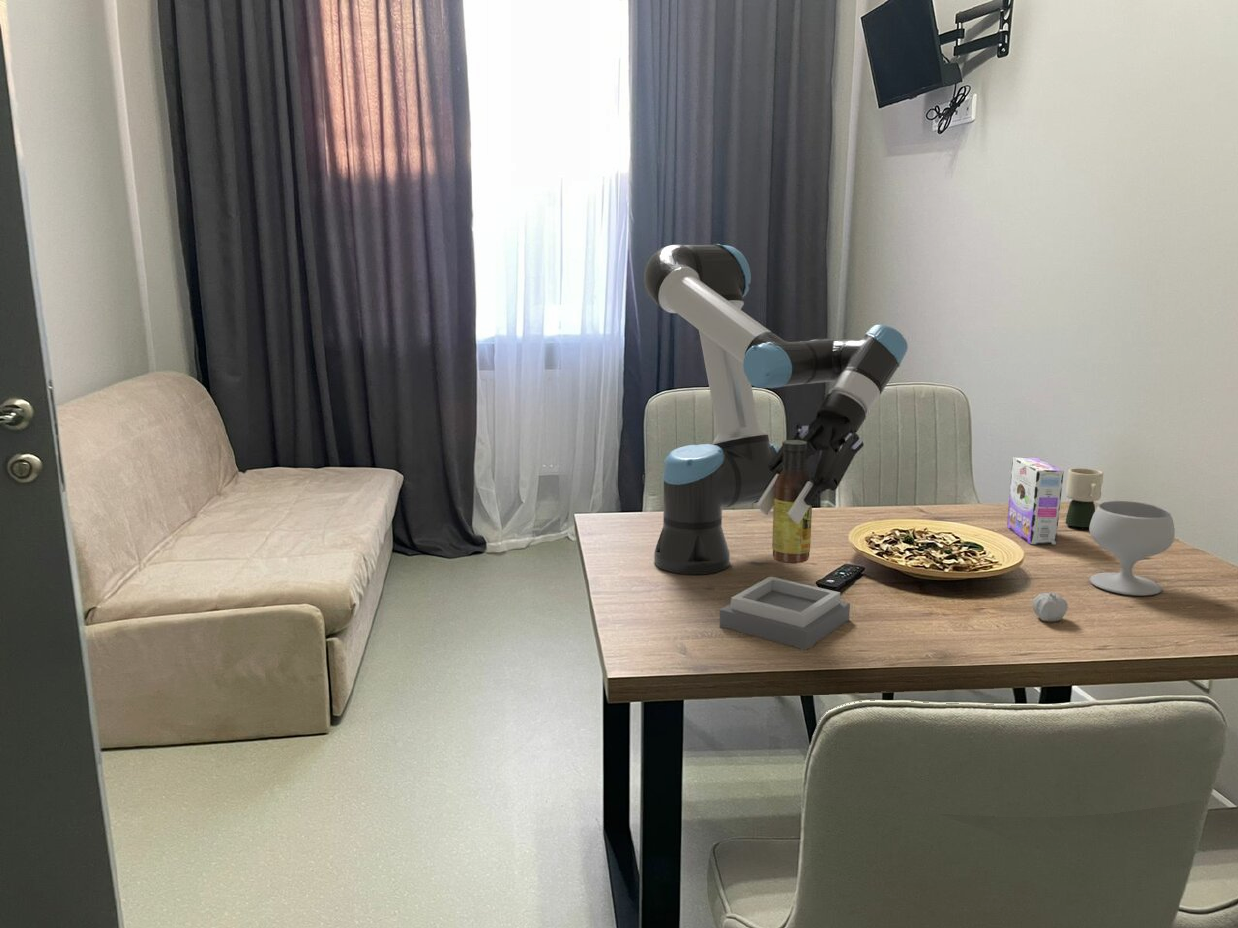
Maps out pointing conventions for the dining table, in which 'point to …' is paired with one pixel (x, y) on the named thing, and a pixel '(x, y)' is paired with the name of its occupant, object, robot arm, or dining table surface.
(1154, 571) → the dining table surface
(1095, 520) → the chalice
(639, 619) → the dining table surface
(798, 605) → the pedestal
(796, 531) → the sauce bottle
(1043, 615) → the garlic
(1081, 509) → the character mug
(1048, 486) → the candy box
